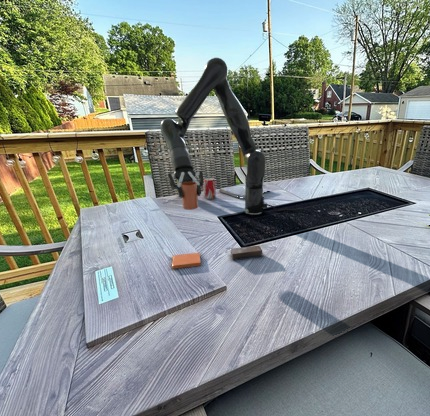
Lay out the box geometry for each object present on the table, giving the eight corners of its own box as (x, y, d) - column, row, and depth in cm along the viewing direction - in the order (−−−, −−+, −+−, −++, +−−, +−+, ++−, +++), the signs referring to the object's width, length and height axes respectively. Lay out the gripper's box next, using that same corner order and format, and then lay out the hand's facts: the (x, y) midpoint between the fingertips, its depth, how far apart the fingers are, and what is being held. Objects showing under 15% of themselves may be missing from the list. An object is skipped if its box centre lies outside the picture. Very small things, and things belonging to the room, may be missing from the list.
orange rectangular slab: (199, 255, 96) (199, 252, 95) (200, 265, 89) (200, 262, 89) (173, 258, 93) (173, 255, 92) (172, 268, 87) (172, 265, 86)
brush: (259, 251, 100) (259, 245, 99) (262, 257, 97) (262, 250, 96) (230, 255, 97) (230, 248, 96) (232, 260, 93) (232, 253, 92)
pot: (197, 204, 110) (196, 181, 106) (198, 209, 104) (197, 185, 101) (182, 205, 108) (181, 181, 104) (182, 210, 103) (181, 185, 99)
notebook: (250, 185, 194) (219, 191, 174) (250, 182, 193) (219, 188, 173) (271, 191, 181) (241, 199, 161) (271, 188, 180) (241, 195, 160)
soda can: (212, 200, 157) (212, 180, 153) (202, 198, 158) (201, 179, 154) (217, 196, 163) (217, 178, 159) (207, 195, 165) (206, 177, 161)
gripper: (163, 156, 102) (173, 193, 96) (200, 154, 109) (210, 189, 104) (162, 167, 108) (171, 202, 102) (197, 165, 115) (206, 198, 110)
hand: (191, 195), depth 103 cm, fingers closed on pot, 6 cm apart
